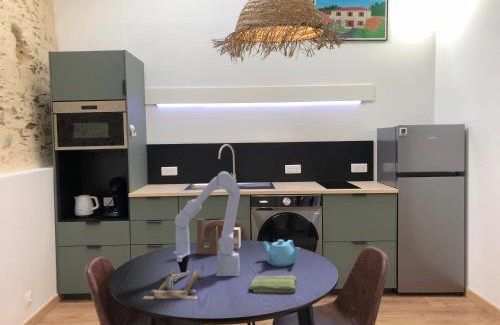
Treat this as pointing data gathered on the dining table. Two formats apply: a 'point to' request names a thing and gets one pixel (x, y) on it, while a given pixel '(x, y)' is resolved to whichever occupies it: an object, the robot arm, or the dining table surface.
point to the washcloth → (274, 284)
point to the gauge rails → (175, 294)
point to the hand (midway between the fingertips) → (183, 273)
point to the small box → (237, 237)
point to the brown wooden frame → (206, 239)
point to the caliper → (174, 278)
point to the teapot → (281, 253)
